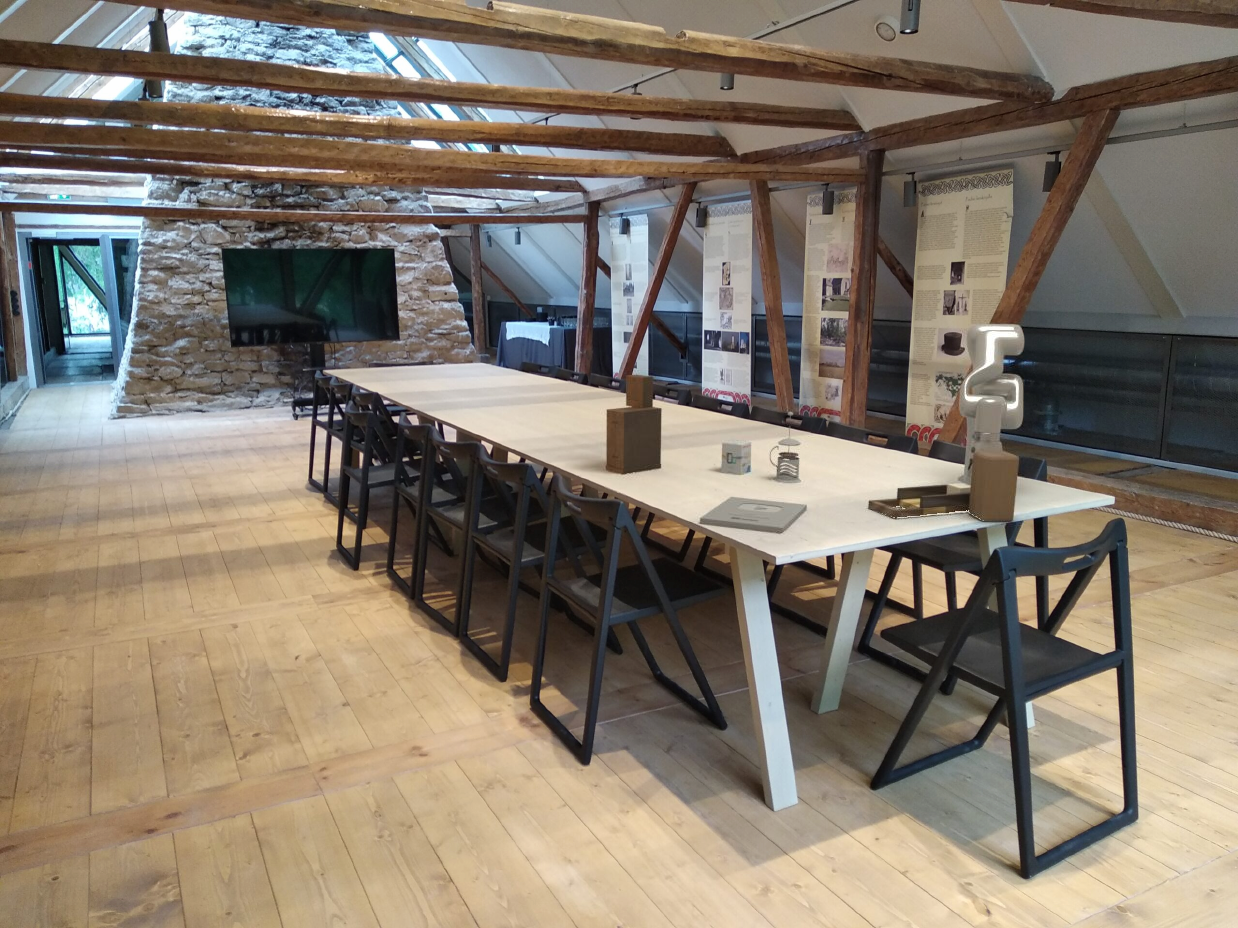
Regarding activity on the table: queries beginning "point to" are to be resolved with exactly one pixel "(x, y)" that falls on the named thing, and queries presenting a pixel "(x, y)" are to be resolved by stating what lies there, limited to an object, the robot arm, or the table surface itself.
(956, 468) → the table surface
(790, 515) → the award plaque
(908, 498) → the tunnel deck
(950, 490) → the cream block
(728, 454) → the ink box
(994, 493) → the block
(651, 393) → the stacked wooden blocks
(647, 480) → the table surface
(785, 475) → the french press
